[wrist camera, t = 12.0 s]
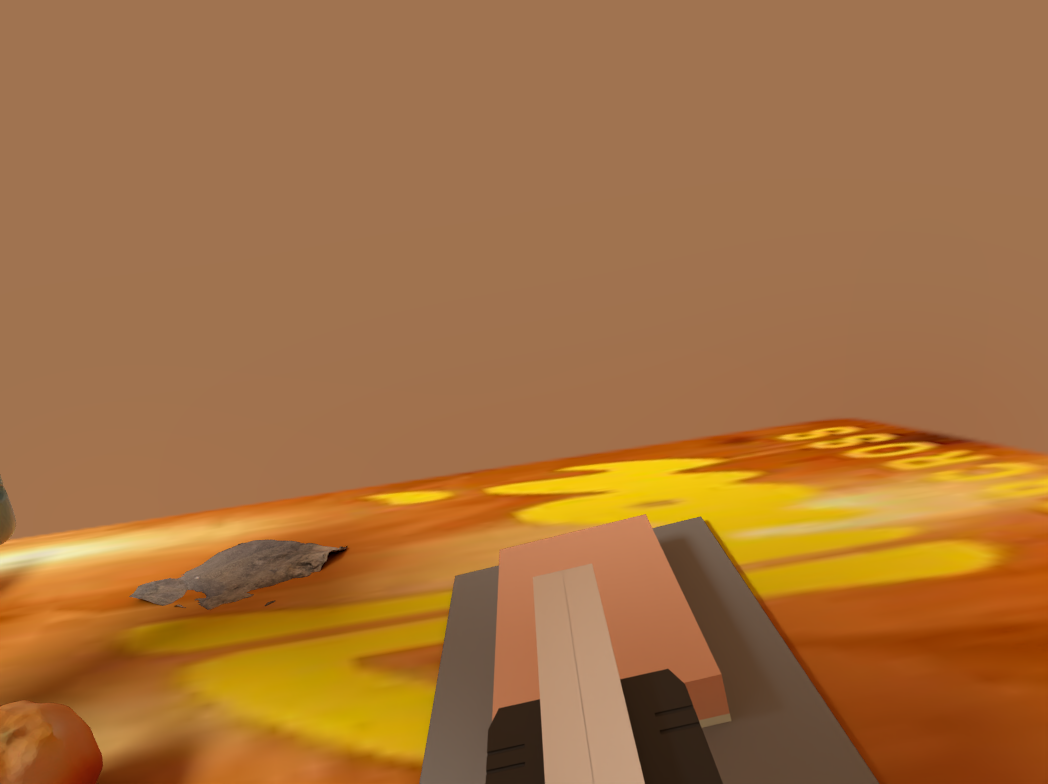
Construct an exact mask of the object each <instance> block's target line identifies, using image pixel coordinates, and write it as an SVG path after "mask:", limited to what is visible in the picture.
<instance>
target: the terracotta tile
mask: <svg viewBox="0 0 1048 784" xmlns="http://www.w3.org/2000/svg"><path fill="white" fill-rule="evenodd" d="M591 563H592V565H593V569H594V573H595V578H596V582H597V586H598V590H599V594H600V598H601V602H602V606H603V610H604V614H605V618H606V622H607V626H608V631H609V635H610V639H611V643H612V647H613V651H614V655H615V659H616V663H617V667H618V672H619V676H620V679H624V678H628V677H633V676H637V675H642V674H646V673H651V672H655V671H660V670H664V669H669V670H670V671H671V672H673V673H674V674H675V675H676V676H677V677H678V678H679V679H680V680H681V681H682V682H683V683H684V684H685V685H686V688H687V690H688V693H689V696H690V698H691V701H692V703H693V707H694V709H695V711H696V714H697V717H698V719H699V722H700V725H701V727H702V728H703V727H707V726H712V725H716V724H720V723H725V722H729V721H731V717H730V712H729V707H728V703H727V698H726V693H725V689H724V684H723V679H722V674H721V672H720V670H719V668H718V666H717V664H716V662H715V660H714V657H713V655H712V653H711V651H710V649H709V647H708V645H707V643H706V641H705V638H704V636H703V634H702V632H701V630H700V628H699V626H698V624H697V622H696V619H695V617H694V615H693V613H692V611H691V609H690V607H689V605H688V603H687V601H686V598H685V596H684V594H683V592H682V590H681V588H680V586H679V584H678V582H677V579H676V577H675V575H674V573H673V571H672V569H671V567H670V565H669V563H668V560H667V558H666V556H665V554H664V552H663V550H662V548H661V546H660V544H659V542H658V539H657V537H656V535H655V533H654V531H653V529H652V527H651V525H650V523H649V520H648V518H647V516H646V514H645V515H641V516H637V517H633V518H629V519H625V520H621V521H616V522H612V523H608V524H604V525H600V526H596V527H592V528H588V529H584V530H579V531H575V532H571V533H567V534H563V535H559V536H555V537H551V538H547V539H542V540H538V541H534V542H530V543H526V544H522V545H518V546H514V547H510V548H505V549H501V550H500V556H499V578H498V601H497V623H496V645H495V668H494V690H493V712H492V721H493V719H494V717H495V715H496V713H497V711H498V709H499V708H502V707H507V706H511V705H516V704H520V703H525V702H529V701H534V700H538V699H540V691H539V674H538V657H537V640H536V624H535V607H534V590H533V577H535V576H540V575H544V574H548V573H553V572H557V571H561V570H565V569H570V568H574V567H578V566H583V565H587V564H591Z"/></svg>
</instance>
